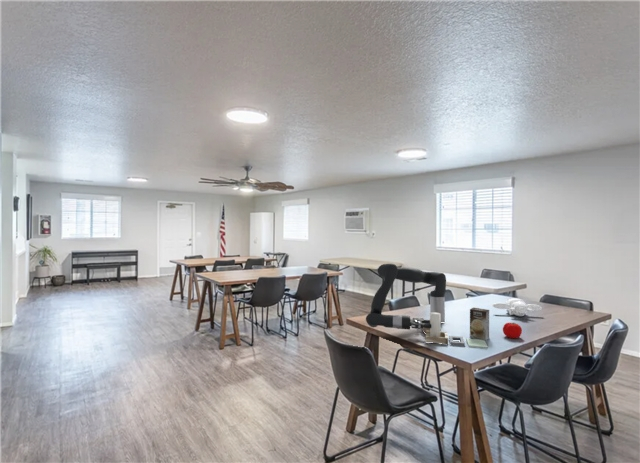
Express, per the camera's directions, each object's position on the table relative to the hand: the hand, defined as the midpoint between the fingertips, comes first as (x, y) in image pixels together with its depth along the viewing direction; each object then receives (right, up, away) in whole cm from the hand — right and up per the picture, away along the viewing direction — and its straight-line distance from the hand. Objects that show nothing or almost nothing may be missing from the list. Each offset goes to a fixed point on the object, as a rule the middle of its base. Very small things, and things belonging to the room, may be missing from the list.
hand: (431, 324), depth 193 cm
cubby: (+2, -9, -1) cm, 9 cm away
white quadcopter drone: (+81, -9, +60) cm, 101 cm away
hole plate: (+12, -9, -4) cm, 16 cm away
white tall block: (+2, -9, -1) cm, 9 cm away
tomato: (+48, -9, +5) cm, 49 cm away
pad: (+22, -9, -7) cm, 25 cm away
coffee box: (+29, -9, +4) cm, 30 cm away
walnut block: (+2, -9, +14) cm, 17 cm away
